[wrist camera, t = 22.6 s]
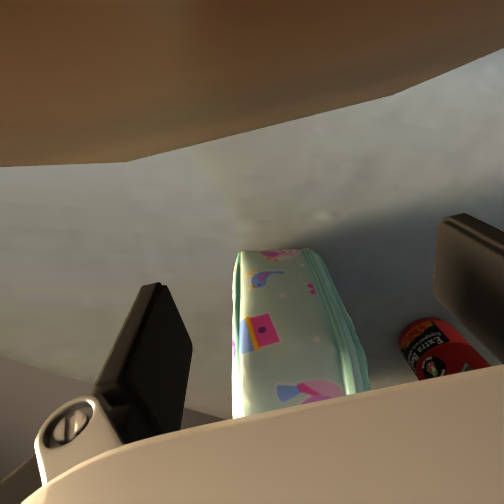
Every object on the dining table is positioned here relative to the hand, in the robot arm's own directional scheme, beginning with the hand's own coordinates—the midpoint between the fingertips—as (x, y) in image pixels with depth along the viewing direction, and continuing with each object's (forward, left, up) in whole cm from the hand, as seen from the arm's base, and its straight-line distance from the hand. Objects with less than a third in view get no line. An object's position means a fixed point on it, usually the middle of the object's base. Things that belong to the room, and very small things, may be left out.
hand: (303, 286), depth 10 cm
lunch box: (+21, -2, -22) cm, 30 cm away
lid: (-7, 0, 0) cm, 7 cm away
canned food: (+29, +18, -22) cm, 40 cm away
